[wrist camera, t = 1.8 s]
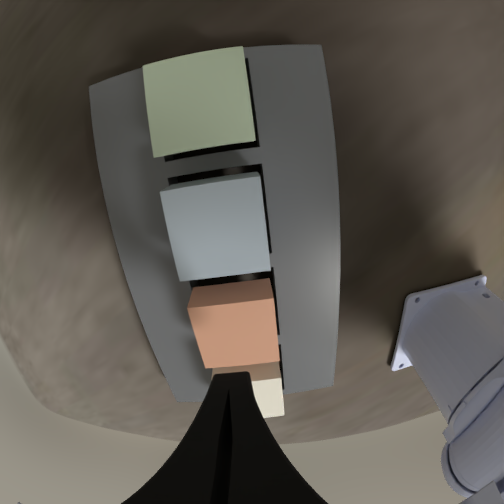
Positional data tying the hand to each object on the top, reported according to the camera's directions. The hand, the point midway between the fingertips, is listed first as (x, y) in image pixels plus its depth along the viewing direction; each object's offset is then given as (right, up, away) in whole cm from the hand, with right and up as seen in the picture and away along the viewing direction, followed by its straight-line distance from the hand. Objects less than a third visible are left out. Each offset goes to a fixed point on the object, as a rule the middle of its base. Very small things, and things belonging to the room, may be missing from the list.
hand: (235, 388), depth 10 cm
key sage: (-2, +12, +2) cm, 13 cm away
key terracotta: (0, +2, +6) cm, 6 cm away
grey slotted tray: (-1, +5, +6) cm, 8 cm away
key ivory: (0, -3, +8) cm, 8 cm away
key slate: (-1, +7, +4) cm, 8 cm away
